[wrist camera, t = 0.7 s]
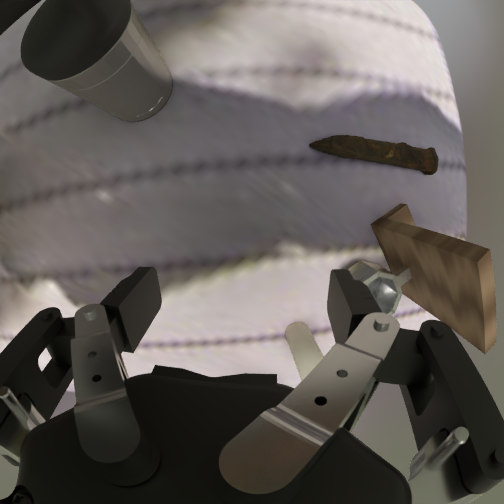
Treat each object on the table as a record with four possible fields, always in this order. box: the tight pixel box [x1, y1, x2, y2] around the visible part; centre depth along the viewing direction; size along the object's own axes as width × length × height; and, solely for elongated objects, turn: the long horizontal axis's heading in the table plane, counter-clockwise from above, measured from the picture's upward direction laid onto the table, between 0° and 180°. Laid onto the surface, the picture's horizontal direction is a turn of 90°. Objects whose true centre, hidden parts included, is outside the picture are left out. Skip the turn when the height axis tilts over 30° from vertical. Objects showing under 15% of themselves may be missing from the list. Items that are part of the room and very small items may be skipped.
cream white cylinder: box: [285, 322, 324, 381], centre depth 33 cm, size 4×4×12 cm
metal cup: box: [348, 260, 412, 315], centre depth 33 cm, size 7×9×5 cm
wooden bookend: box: [371, 204, 496, 354], centre depth 27 cm, size 12×6×20 cm, turn 32°
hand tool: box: [310, 135, 439, 175], centre depth 31 cm, size 19×4×5 cm, turn 87°
